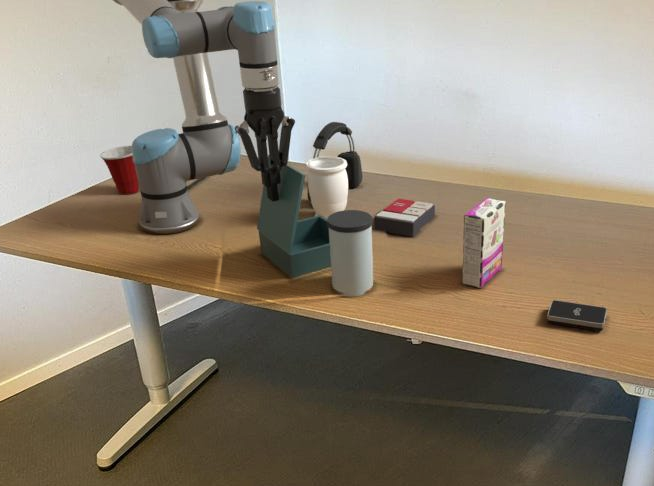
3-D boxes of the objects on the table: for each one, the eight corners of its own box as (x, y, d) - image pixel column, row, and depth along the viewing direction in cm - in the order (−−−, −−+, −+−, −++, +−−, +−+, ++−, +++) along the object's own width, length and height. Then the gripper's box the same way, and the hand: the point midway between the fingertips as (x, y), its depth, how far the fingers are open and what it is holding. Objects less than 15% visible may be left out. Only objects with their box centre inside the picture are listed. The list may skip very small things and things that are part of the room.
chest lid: (271, 154, 163) (268, 154, 162) (305, 175, 151) (302, 174, 151) (259, 228, 170) (256, 228, 169) (291, 253, 158) (288, 253, 158)
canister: (330, 278, 162) (325, 211, 153) (371, 275, 163) (369, 208, 154) (333, 298, 155) (328, 228, 146) (376, 295, 155) (374, 225, 147)
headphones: (346, 180, 216) (343, 112, 204) (365, 183, 213) (362, 114, 202) (305, 205, 199) (299, 132, 188) (325, 209, 197) (320, 135, 186)
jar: (344, 227, 187) (341, 170, 178) (305, 224, 188) (301, 168, 180) (353, 211, 195) (351, 156, 187) (317, 209, 197) (313, 154, 189)
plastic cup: (113, 185, 216) (103, 145, 209) (150, 183, 217) (141, 143, 210) (105, 198, 207) (95, 157, 200) (144, 196, 208) (135, 155, 201)
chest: (322, 238, 181) (320, 214, 177) (356, 262, 169) (355, 237, 166) (261, 255, 173) (258, 230, 170) (292, 281, 162) (290, 255, 158)
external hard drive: (551, 308, 149) (552, 299, 148) (606, 316, 146) (608, 307, 145) (545, 324, 144) (547, 315, 143) (603, 333, 141) (604, 324, 140)
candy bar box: (482, 264, 167) (486, 196, 158) (502, 269, 165) (507, 200, 156) (460, 284, 159) (463, 213, 150) (480, 289, 157) (485, 218, 148)
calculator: (435, 202, 190) (413, 220, 178) (435, 218, 192) (413, 236, 180) (397, 196, 194) (373, 213, 182) (397, 212, 196) (373, 230, 184)
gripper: (238, 95, 140) (252, 210, 153) (298, 86, 146) (307, 198, 159) (223, 88, 146) (239, 200, 159) (282, 79, 151) (292, 188, 164)
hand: (273, 199), depth 159 cm, fingers closed
